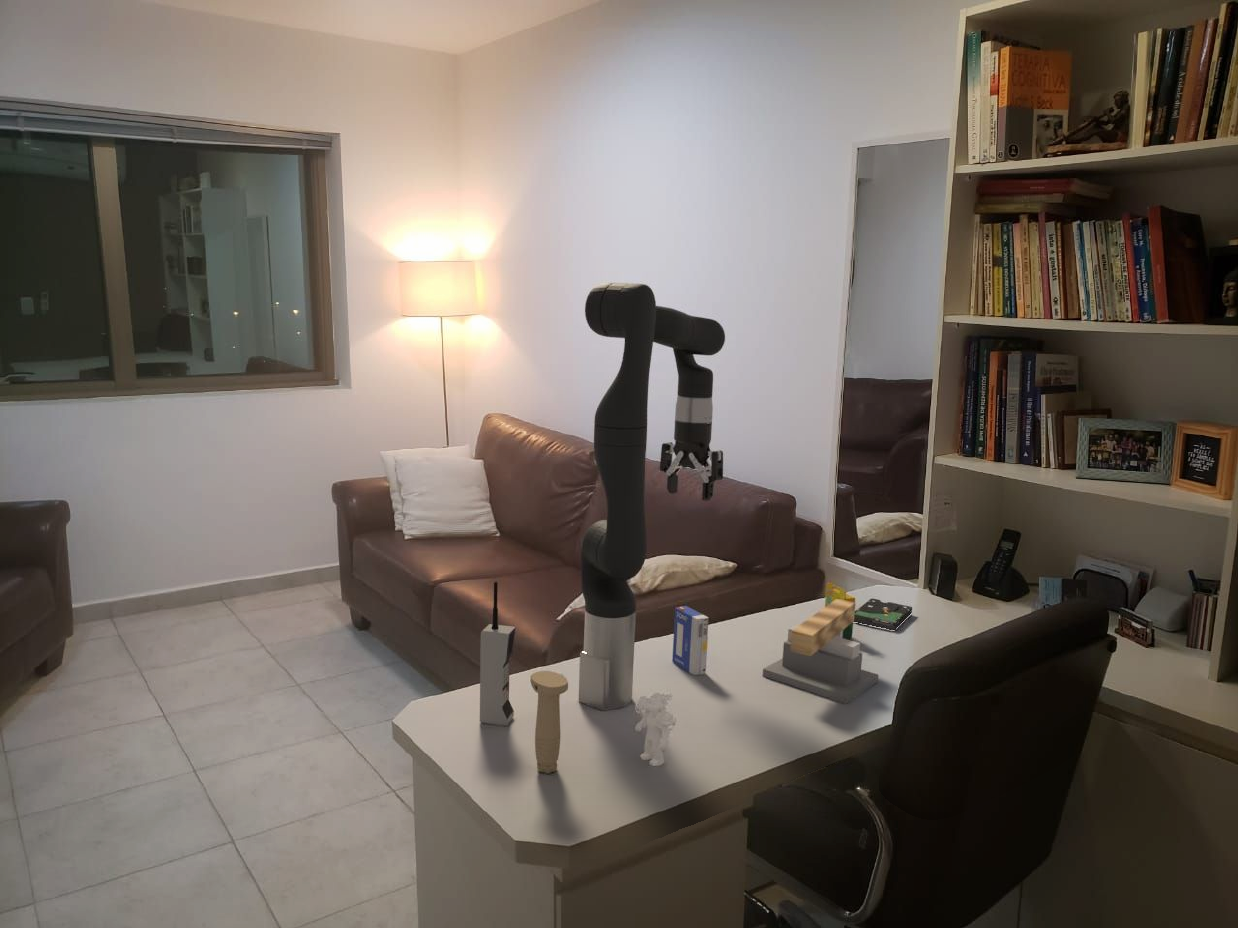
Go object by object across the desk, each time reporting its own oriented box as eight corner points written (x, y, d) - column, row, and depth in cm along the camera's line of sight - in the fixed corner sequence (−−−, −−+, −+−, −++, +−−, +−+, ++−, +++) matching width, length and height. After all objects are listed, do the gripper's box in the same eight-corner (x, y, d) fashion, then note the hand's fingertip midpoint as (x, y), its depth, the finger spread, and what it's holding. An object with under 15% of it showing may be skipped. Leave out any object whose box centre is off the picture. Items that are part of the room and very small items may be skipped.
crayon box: (852, 640, 205) (856, 590, 203) (841, 641, 204) (845, 591, 202) (833, 629, 212) (837, 580, 210) (822, 630, 211) (826, 581, 209)
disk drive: (869, 608, 229) (850, 624, 217) (870, 597, 229) (851, 612, 216) (911, 617, 224) (894, 634, 212) (912, 606, 224) (895, 622, 211)
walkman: (672, 661, 189) (675, 605, 187) (683, 659, 191) (686, 603, 188) (694, 675, 182) (697, 617, 180) (706, 673, 184) (709, 615, 182)
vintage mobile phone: (507, 726, 158) (509, 586, 154) (479, 723, 159) (481, 583, 155) (514, 717, 162) (516, 580, 157) (486, 713, 163) (488, 577, 158)
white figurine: (678, 768, 146) (682, 697, 144) (658, 774, 144) (662, 702, 142) (646, 744, 154) (649, 676, 151) (626, 750, 151) (629, 681, 149)
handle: (547, 756, 148) (550, 668, 146) (571, 772, 144) (574, 682, 141) (522, 765, 145) (524, 675, 143) (546, 782, 141) (548, 689, 138)
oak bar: (835, 616, 193) (836, 598, 192) (853, 621, 191) (855, 602, 190) (790, 650, 173) (791, 630, 172) (810, 656, 171) (812, 635, 170)
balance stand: (845, 703, 172) (849, 657, 171) (762, 675, 184) (765, 632, 182) (878, 681, 183) (882, 638, 181) (797, 656, 194) (800, 615, 193)
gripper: (654, 416, 189) (651, 493, 192) (712, 424, 180) (707, 505, 183) (676, 413, 195) (672, 488, 198) (733, 421, 186) (728, 499, 189)
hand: (689, 496), depth 190 cm, fingers open, 8 cm apart
